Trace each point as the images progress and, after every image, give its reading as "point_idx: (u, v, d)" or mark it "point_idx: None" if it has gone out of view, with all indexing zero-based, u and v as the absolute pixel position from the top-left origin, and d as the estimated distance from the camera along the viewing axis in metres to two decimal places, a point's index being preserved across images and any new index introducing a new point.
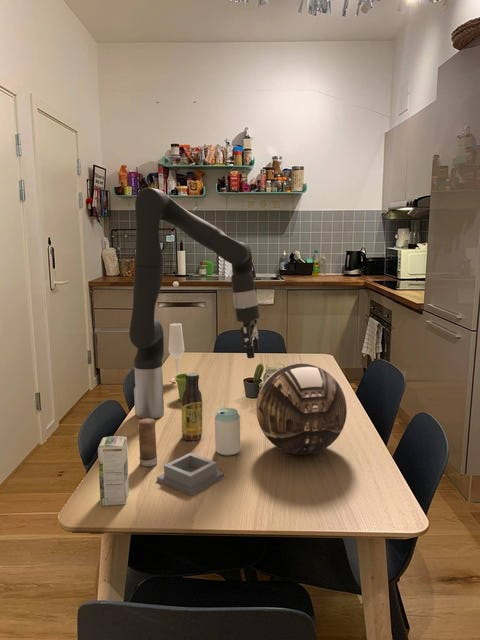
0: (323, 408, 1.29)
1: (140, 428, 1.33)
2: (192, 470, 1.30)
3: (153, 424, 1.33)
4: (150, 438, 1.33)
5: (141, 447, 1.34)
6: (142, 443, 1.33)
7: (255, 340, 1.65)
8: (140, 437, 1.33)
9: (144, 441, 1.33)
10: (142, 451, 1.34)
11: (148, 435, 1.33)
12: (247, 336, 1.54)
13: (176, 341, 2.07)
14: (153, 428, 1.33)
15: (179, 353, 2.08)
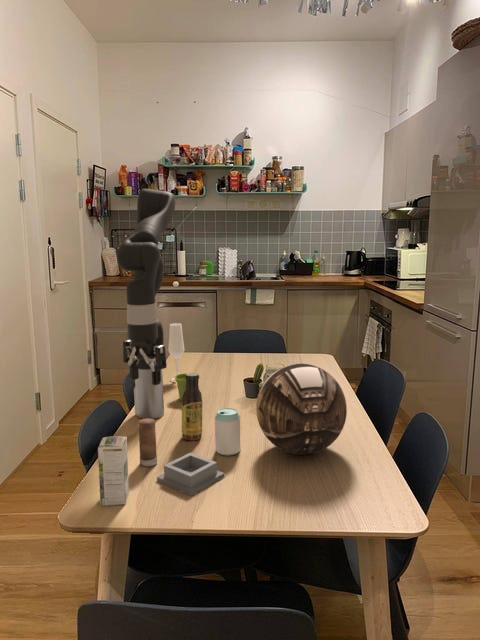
0: (323, 408, 1.30)
1: (140, 428, 1.33)
2: (192, 470, 1.30)
3: (153, 424, 1.33)
4: (150, 438, 1.33)
5: (141, 447, 1.34)
6: (142, 443, 1.33)
7: None
8: (140, 437, 1.33)
9: (144, 441, 1.33)
10: (142, 451, 1.34)
11: (148, 435, 1.33)
12: None
13: (176, 341, 2.07)
14: (153, 428, 1.33)
15: (179, 353, 2.08)
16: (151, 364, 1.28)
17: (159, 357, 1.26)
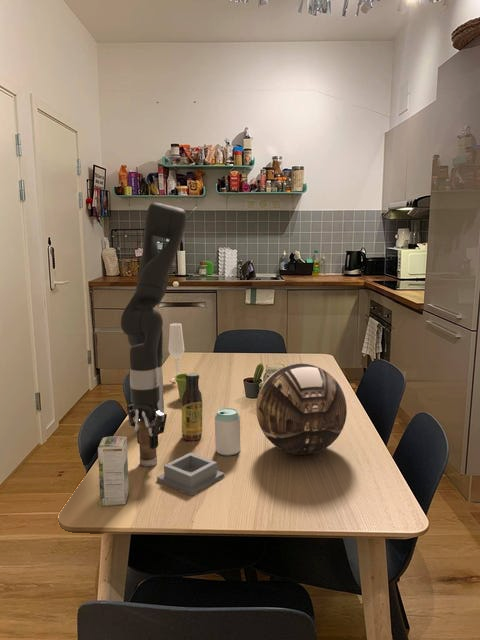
0: (323, 408, 1.30)
1: (140, 428, 1.33)
2: (192, 470, 1.30)
3: None
4: None
5: (141, 447, 1.34)
6: (142, 443, 1.33)
7: None
8: (140, 437, 1.33)
9: (144, 441, 1.33)
10: (142, 451, 1.34)
11: (148, 435, 1.33)
12: None
13: (176, 341, 2.07)
14: (153, 428, 1.33)
15: (179, 353, 2.08)
16: (150, 429, 1.32)
17: (159, 425, 1.30)
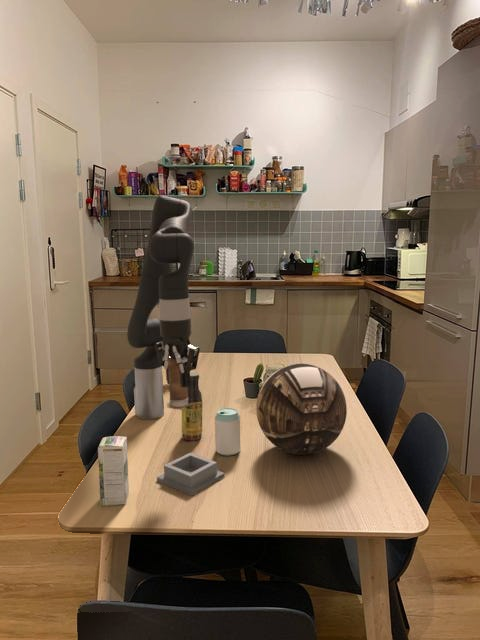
0: (323, 408, 1.30)
1: (170, 365, 1.22)
2: (192, 470, 1.30)
3: None
4: None
5: (171, 386, 1.23)
6: (172, 381, 1.23)
7: None
8: (170, 375, 1.23)
9: (174, 379, 1.23)
10: (172, 390, 1.23)
11: (179, 372, 1.22)
12: None
13: None
14: (184, 365, 1.23)
15: None
16: (181, 365, 1.21)
17: (191, 359, 1.19)
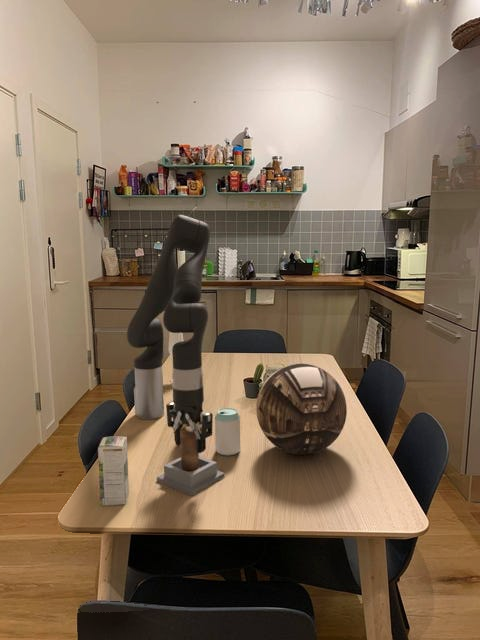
0: (323, 408, 1.30)
1: (182, 437, 1.24)
2: None
3: None
4: (193, 447, 1.24)
5: (183, 457, 1.25)
6: (184, 453, 1.24)
7: None
8: (182, 447, 1.25)
9: (186, 451, 1.24)
10: (184, 462, 1.25)
11: (191, 444, 1.24)
12: None
13: (176, 341, 2.07)
14: (196, 437, 1.25)
15: None
16: (196, 431, 1.22)
17: (206, 426, 1.20)
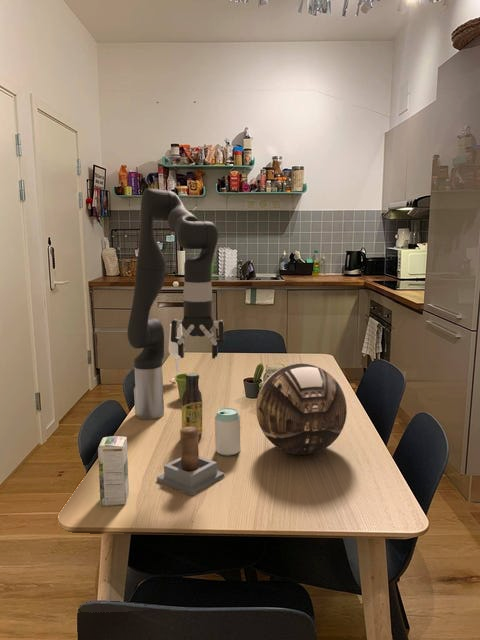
0: (323, 408, 1.30)
1: (182, 437, 1.24)
2: None
3: (196, 433, 1.25)
4: (193, 447, 1.24)
5: (183, 457, 1.25)
6: (184, 453, 1.24)
7: None
8: (182, 447, 1.25)
9: (186, 451, 1.24)
10: (184, 462, 1.25)
11: (191, 444, 1.24)
12: None
13: None
14: (196, 437, 1.25)
15: None
16: (212, 339, 1.34)
17: (223, 331, 1.34)
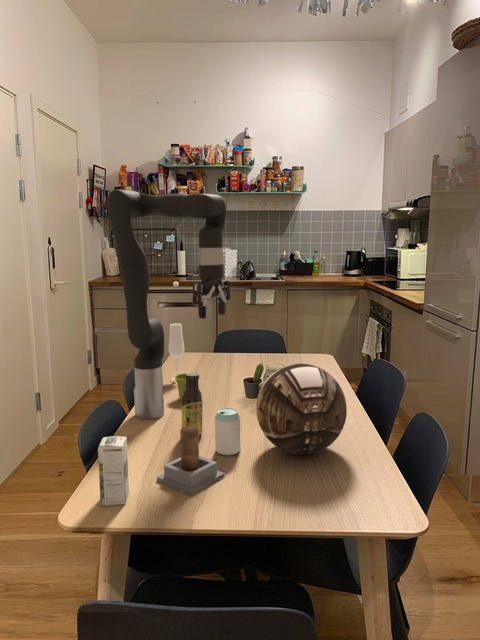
0: (323, 408, 1.30)
1: (183, 437, 1.24)
2: None
3: (196, 432, 1.25)
4: (193, 447, 1.24)
5: (183, 457, 1.25)
6: (184, 453, 1.24)
7: (221, 302, 1.56)
8: (182, 446, 1.25)
9: (187, 451, 1.24)
10: (184, 461, 1.25)
11: (192, 444, 1.24)
12: (196, 294, 1.46)
13: (176, 341, 2.07)
14: (196, 437, 1.25)
15: (179, 353, 2.08)
16: (223, 297, 1.55)
17: None
